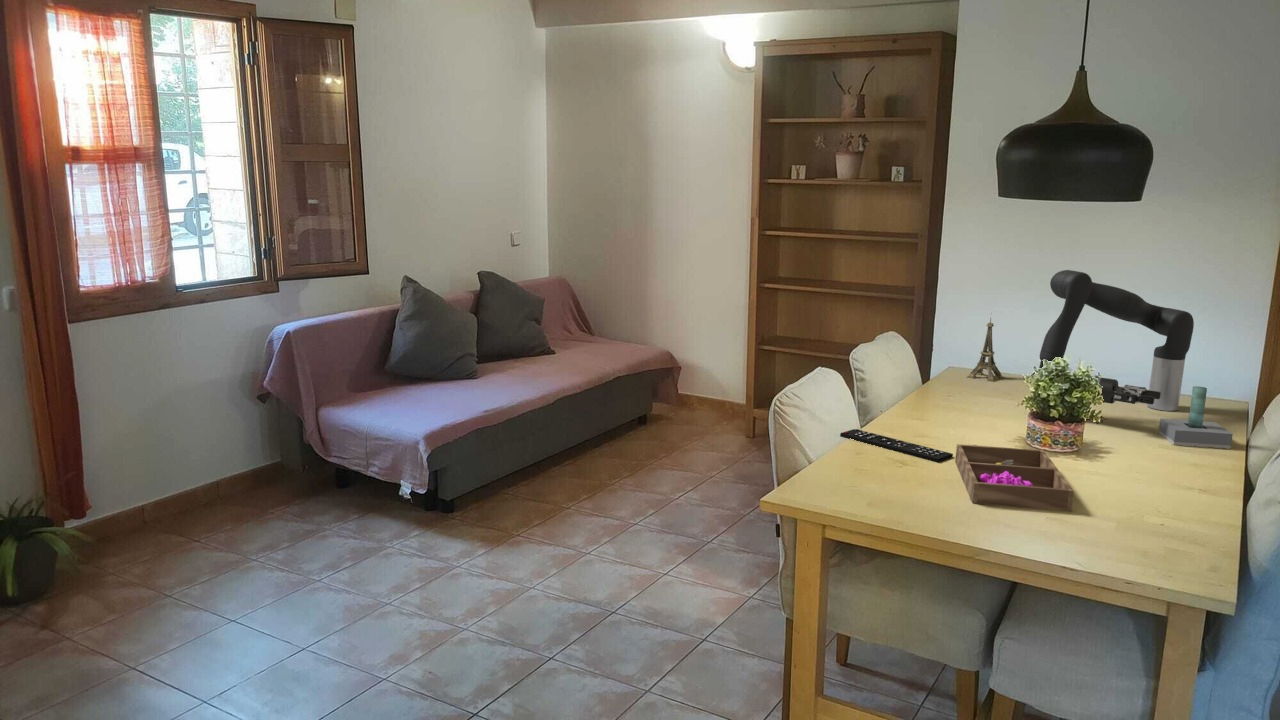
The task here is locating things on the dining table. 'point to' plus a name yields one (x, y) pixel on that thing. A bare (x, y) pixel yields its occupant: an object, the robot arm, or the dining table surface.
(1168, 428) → the socket block
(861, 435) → the remote control
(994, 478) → the magenta lumpy cluster
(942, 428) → the dining table surface
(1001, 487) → the walnut display tray
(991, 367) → the eiffel tower
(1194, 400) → the teal pin
